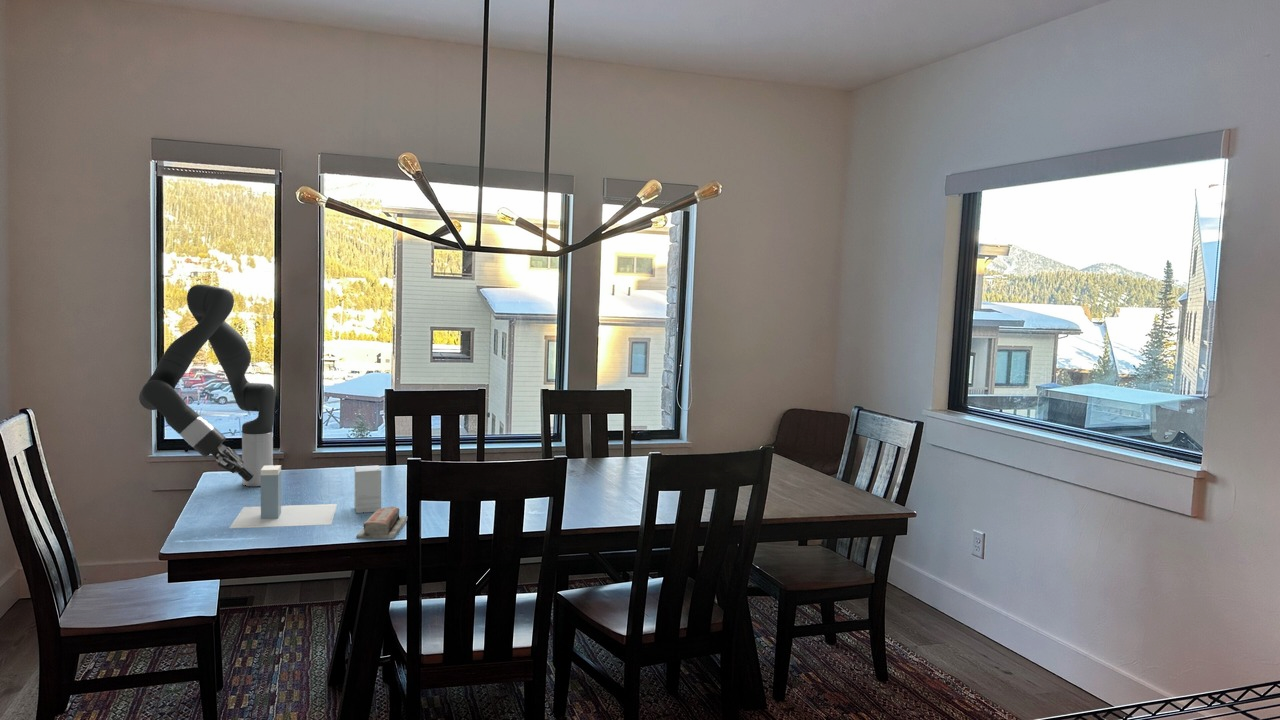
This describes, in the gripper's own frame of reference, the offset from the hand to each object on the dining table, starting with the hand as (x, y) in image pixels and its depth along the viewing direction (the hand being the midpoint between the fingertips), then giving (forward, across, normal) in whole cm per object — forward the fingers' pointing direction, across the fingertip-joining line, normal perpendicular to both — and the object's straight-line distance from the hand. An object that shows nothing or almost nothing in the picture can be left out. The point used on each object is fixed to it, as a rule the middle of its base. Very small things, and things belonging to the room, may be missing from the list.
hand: (251, 478), depth 238 cm
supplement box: (+30, +5, -14) cm, 34 cm away
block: (+11, 0, +4) cm, 12 cm away
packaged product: (+34, -16, -17) cm, 41 cm away
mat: (+14, 0, +2) cm, 15 cm away
